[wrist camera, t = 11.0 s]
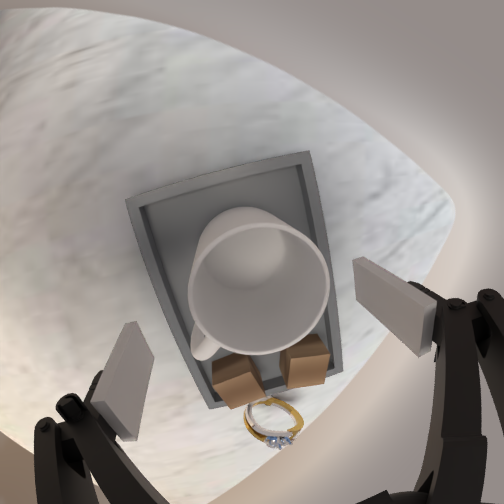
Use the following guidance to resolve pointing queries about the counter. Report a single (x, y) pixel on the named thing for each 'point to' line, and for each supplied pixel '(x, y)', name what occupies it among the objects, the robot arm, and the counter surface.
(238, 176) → the tray
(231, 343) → the cup
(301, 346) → the block
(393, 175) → the counter surface
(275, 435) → the ring
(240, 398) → the block
